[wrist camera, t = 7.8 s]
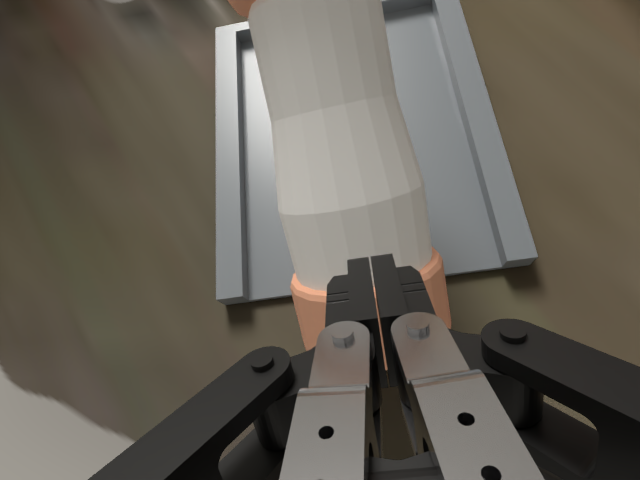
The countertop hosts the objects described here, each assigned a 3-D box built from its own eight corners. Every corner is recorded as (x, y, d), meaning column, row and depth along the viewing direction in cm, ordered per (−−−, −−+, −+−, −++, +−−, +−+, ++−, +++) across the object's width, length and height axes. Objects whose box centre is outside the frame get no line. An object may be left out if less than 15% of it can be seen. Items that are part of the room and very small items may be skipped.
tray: (449, -3, 31) (452, -22, 30) (529, 265, 23) (538, 256, 22) (222, 43, 33) (215, 27, 32) (225, 304, 25) (216, 299, 24)
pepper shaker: (348, 397, 16) (213, -205, 11) (284, 332, 22) (181, -65, 18) (486, 328, 19) (426, -182, 14) (393, 287, 25) (330, -68, 20)
